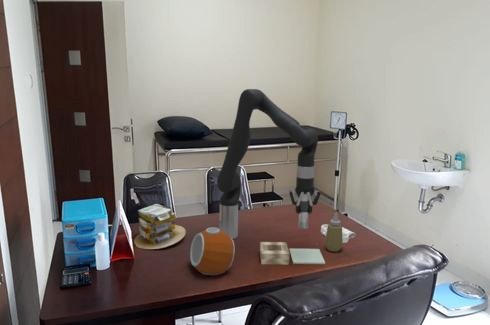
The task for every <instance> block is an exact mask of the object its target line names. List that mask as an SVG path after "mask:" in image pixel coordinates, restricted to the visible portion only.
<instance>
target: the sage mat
mask: <svg viewBox="0 0 490 325" xmlns="http://www.w3.org/2000/svg"><path fill="white" fill-rule="evenodd" d="M288 250H289V255H290V256H291V260H292V264H293V265H294V264H297V265H298V264H299V265H300V264H303V265H326V262H325V258H324V257H323V254H322V252H321V250H320V248H289V247H288Z"/></svg>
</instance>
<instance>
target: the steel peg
mask: <svg viewBox="0 0 490 325" xmlns="http://www.w3.org/2000/svg"><path fill="white" fill-rule="evenodd" d="M299 206H300V207H299V214H298V228H299V229H308V228H309V227H308V226H309V213H308V212H309V200H308V196H307V193H304V194H303V196H302V199H301V202H300V204H299Z"/></svg>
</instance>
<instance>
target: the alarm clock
mask: <svg viewBox="0 0 490 325" xmlns="http://www.w3.org/2000/svg"><path fill="white" fill-rule="evenodd" d="M235 248H236V247H235V242H234V239H232V238H230V236H229V235H228V234H227V233H225V232H223V231H221V230H219V227H215V226H213V227H207V228H206V229H204V230H202V231H201V232H198V233H196V234H195V236H194V237H193V240H192V242H191V245H190V250H189V251H190V253H189V256H190V264H191V265H192V266H193V267H194V268H195V269H196V270H197V271H198V272H200V273H201V274H203V275H207V276H208V275H209V276H218V275H219V276H220V275H221V274H224V273H225V272H226V271H228V270H229V269H230V268H231V267H232V264H233V262H234V257H235Z"/></svg>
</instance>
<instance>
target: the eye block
mask: <svg viewBox="0 0 490 325" xmlns="http://www.w3.org/2000/svg"><path fill="white" fill-rule="evenodd" d="M259 256H260V264H261V265H286V266H287V265H290V250H289V247H288V244H287V242H284V241H279V242H278V241H277V242H276V241H260V242H259Z"/></svg>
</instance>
